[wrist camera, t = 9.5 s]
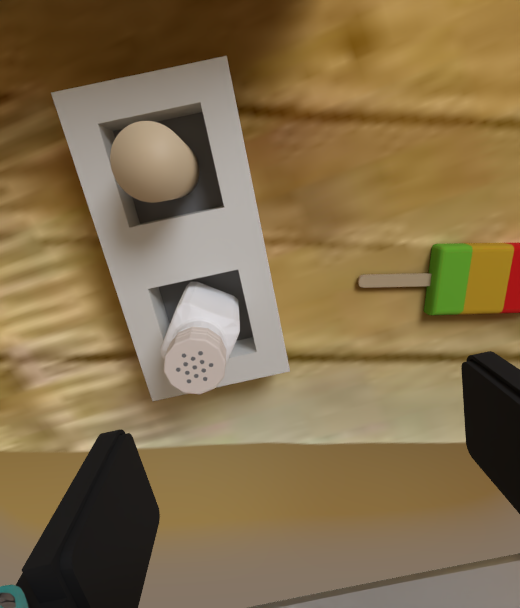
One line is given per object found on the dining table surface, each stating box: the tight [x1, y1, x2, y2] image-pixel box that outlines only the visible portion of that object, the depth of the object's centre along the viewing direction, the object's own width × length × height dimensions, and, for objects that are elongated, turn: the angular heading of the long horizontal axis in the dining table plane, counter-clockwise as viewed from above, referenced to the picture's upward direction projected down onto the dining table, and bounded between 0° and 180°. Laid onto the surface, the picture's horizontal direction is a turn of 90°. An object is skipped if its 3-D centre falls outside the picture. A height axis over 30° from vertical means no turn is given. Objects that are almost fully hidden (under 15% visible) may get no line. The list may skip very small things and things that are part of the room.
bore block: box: [51, 56, 290, 401], centre depth 24 cm, size 10×20×8 cm, turn 12°
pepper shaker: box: [160, 282, 240, 394], centre depth 24 cm, size 4×4×10 cm
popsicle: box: [358, 243, 520, 315], centre depth 30 cm, size 6×15×2 cm, turn 90°
